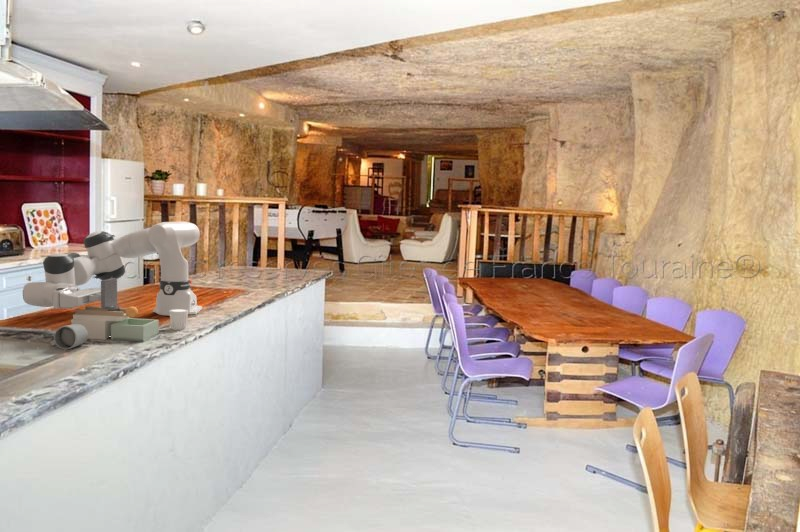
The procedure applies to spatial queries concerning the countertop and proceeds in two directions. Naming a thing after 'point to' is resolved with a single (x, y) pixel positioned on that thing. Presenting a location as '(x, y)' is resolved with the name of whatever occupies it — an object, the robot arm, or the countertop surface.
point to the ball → (131, 312)
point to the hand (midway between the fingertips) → (105, 298)
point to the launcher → (98, 320)
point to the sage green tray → (134, 329)
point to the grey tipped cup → (70, 336)
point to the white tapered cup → (178, 319)
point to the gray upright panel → (109, 294)
